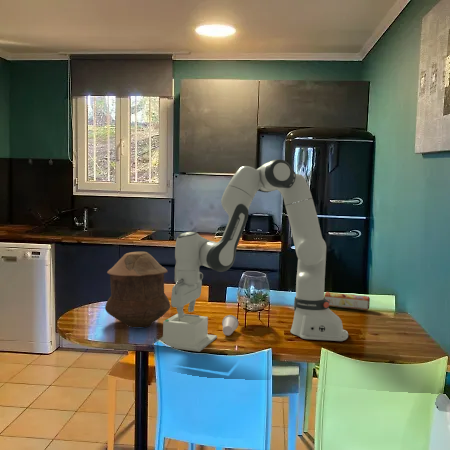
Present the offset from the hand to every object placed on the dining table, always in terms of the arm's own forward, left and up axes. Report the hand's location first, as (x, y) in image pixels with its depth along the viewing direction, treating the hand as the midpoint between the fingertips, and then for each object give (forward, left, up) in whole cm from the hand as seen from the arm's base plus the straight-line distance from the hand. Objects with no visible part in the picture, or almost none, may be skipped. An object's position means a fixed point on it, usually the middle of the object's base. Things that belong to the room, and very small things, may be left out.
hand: (186, 314), depth 190 cm
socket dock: (0, 0, -10) cm, 10 cm away
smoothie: (-13, -10, -7) cm, 18 cm away
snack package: (-58, -73, -4) cm, 93 cm away
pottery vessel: (+25, -11, -10) cm, 29 cm away
